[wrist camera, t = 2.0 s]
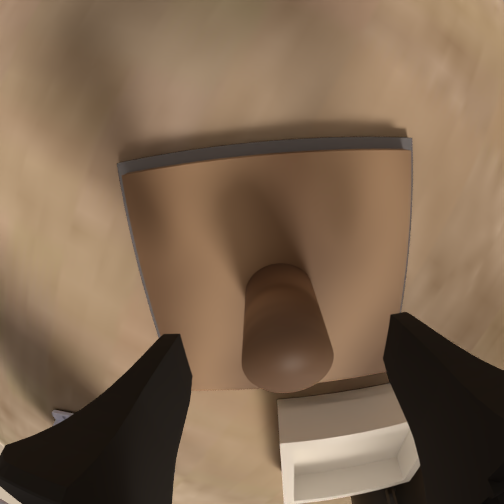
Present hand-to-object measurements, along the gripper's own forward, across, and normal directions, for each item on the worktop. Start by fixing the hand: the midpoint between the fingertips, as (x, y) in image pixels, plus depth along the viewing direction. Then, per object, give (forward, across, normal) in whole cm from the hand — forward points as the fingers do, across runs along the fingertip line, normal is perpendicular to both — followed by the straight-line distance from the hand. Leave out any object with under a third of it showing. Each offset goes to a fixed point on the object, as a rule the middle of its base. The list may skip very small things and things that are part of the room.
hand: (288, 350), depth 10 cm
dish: (+5, -5, +14) cm, 16 cm away
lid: (+5, 0, 0) cm, 5 cm away
